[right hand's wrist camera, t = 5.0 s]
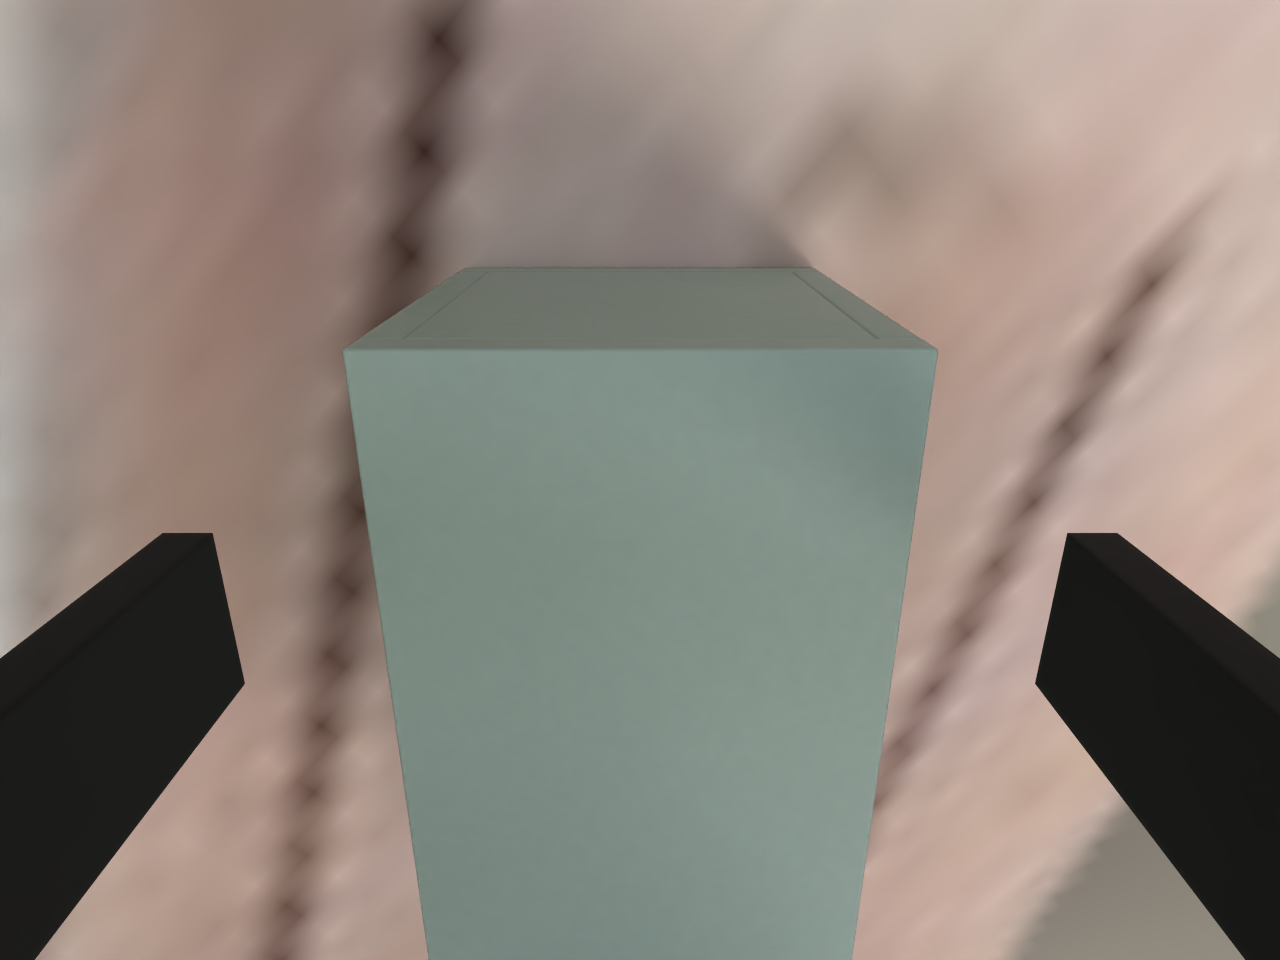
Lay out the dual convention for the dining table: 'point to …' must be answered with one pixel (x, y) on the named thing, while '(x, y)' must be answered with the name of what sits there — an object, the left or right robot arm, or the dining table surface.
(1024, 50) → the dining table surface
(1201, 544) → the dining table surface
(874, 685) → the grey-green rectangular block
